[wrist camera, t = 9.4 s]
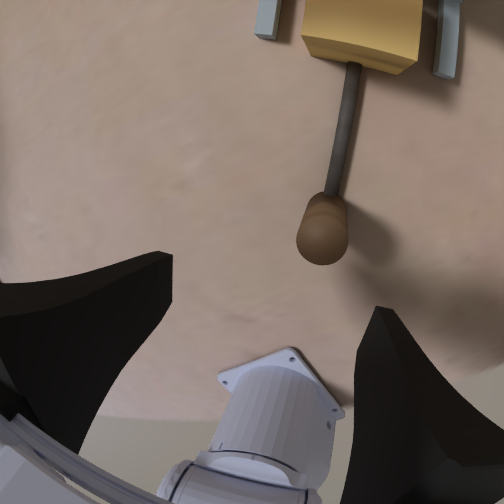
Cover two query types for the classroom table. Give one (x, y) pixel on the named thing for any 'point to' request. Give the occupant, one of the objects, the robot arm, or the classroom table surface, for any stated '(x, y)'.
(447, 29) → the shelf
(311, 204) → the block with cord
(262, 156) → the classroom table surface
